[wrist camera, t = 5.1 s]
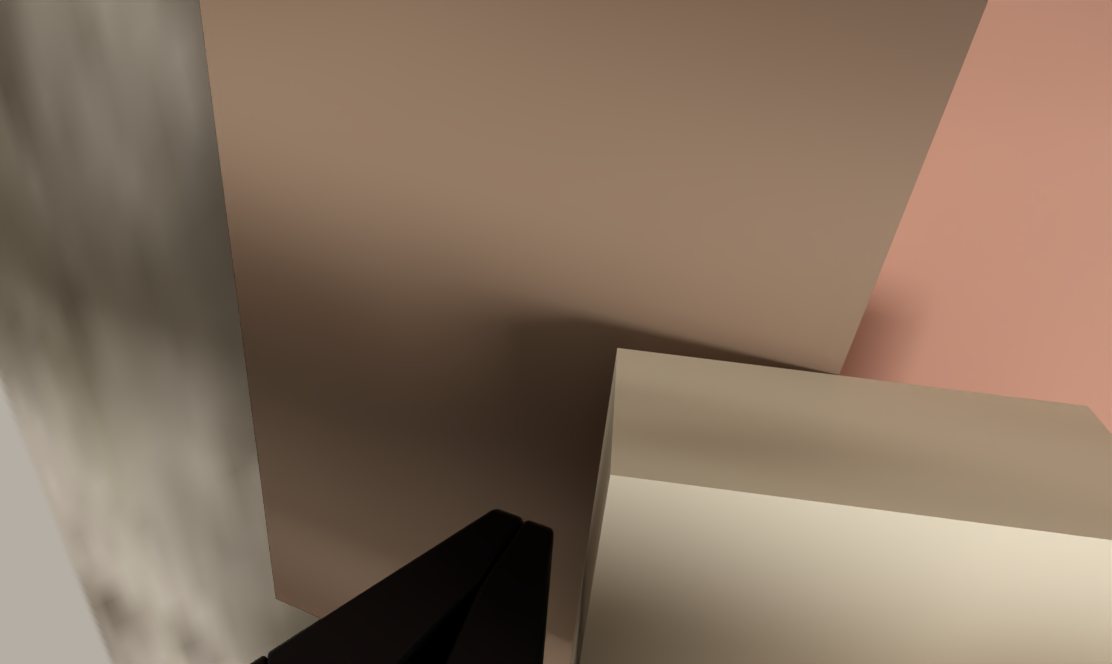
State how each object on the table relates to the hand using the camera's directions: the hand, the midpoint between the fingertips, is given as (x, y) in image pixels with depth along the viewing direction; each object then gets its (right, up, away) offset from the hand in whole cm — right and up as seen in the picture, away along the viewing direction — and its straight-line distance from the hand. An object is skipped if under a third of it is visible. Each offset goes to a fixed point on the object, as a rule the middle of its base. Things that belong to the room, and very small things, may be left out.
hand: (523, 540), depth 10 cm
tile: (+3, -1, -1) cm, 4 cm away
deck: (+1, +3, +3) cm, 4 cm away
